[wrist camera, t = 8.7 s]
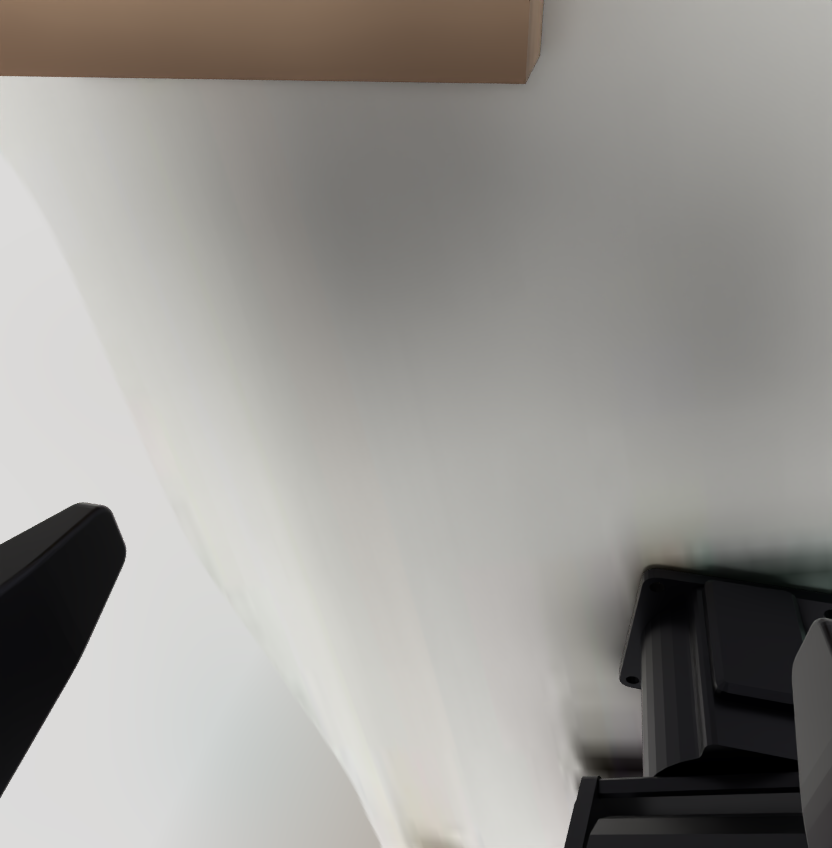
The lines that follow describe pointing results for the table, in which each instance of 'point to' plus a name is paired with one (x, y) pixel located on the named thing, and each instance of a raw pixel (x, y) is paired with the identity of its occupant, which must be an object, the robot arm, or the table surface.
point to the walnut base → (273, 39)
